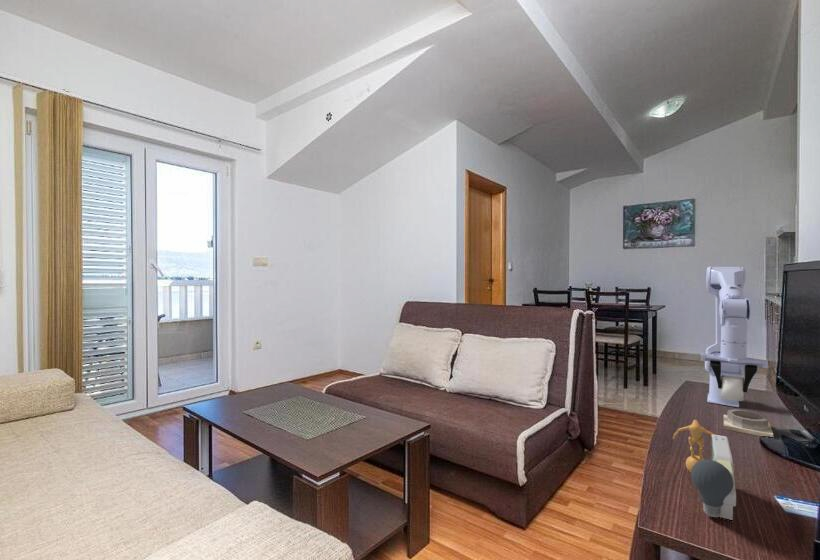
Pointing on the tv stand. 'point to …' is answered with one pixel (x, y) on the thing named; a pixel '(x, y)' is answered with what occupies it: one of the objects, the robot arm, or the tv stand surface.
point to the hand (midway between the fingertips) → (732, 389)
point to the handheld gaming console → (724, 457)
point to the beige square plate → (747, 422)
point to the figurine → (696, 434)
